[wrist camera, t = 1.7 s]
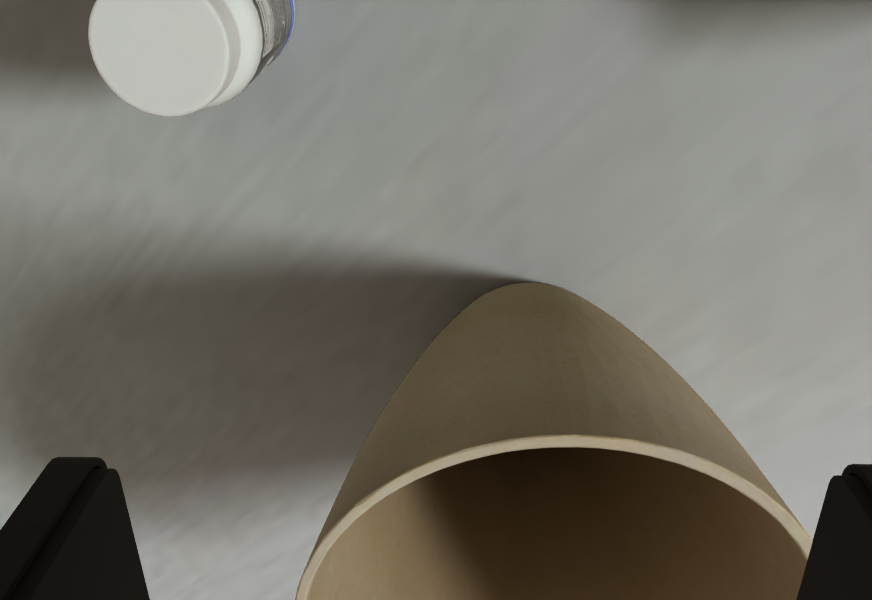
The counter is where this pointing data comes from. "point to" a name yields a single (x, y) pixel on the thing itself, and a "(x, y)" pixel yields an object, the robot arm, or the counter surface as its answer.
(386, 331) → the counter surface
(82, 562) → the robot arm
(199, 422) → the counter surface
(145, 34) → the pill bottle
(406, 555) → the plant pot
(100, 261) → the counter surface
